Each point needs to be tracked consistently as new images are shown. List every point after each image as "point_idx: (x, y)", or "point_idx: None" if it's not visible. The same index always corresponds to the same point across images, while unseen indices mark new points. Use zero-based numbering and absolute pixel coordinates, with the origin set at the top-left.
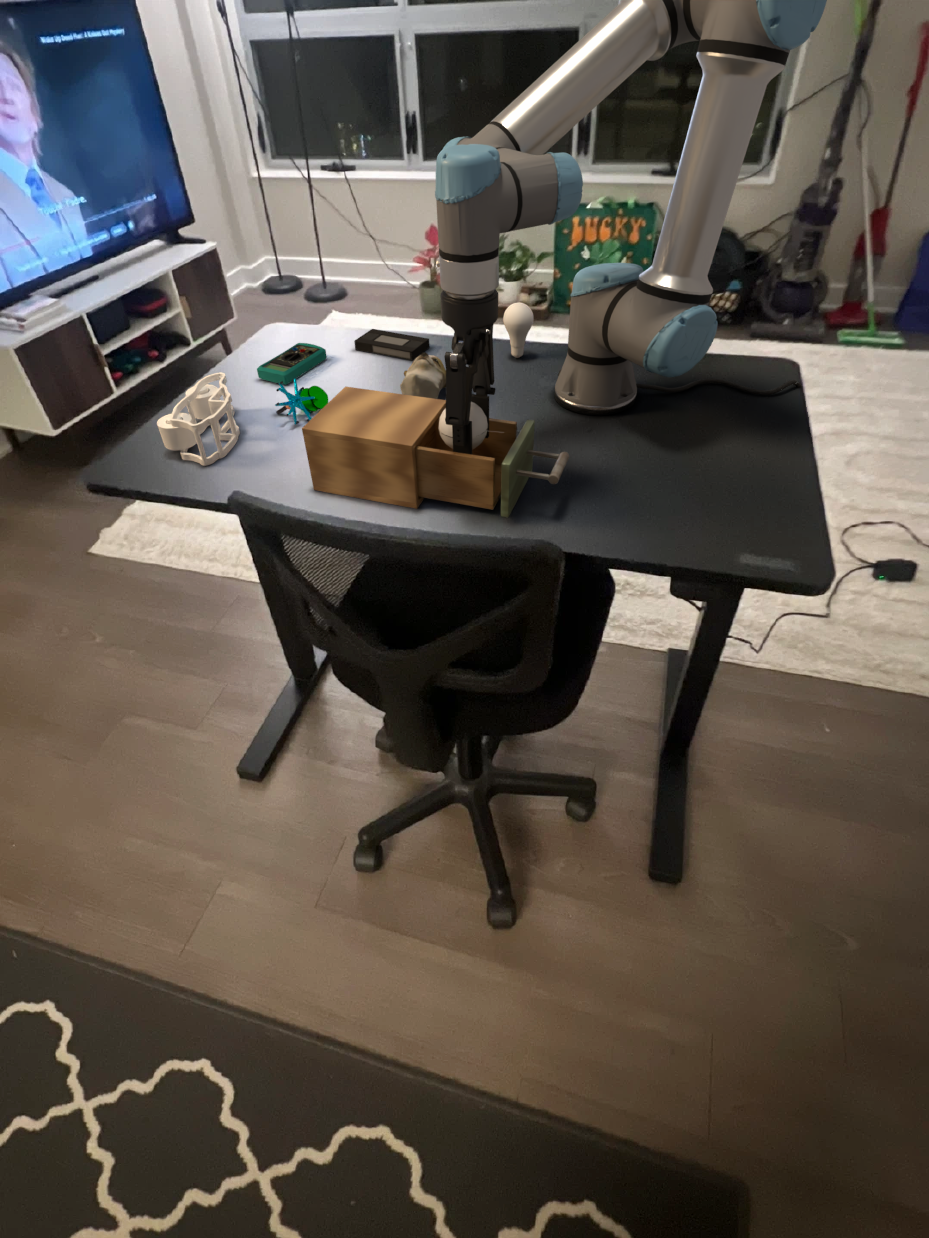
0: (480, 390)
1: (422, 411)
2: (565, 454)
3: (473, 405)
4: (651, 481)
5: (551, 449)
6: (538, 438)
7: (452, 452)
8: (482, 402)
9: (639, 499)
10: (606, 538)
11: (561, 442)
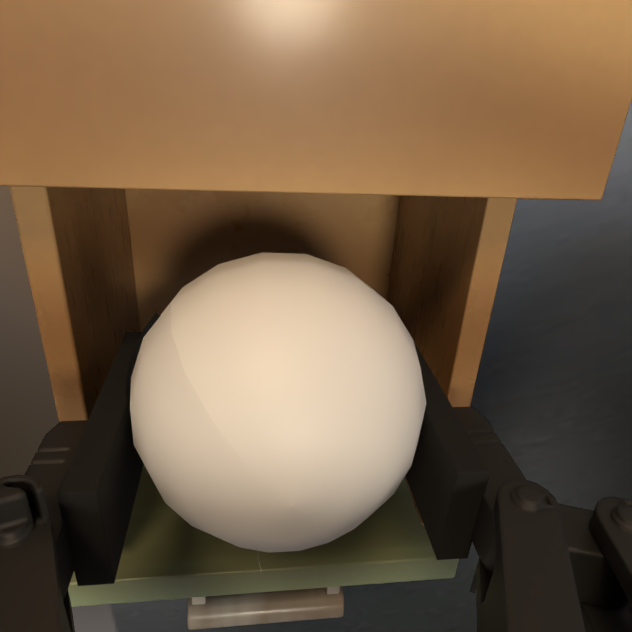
0: (492, 543)
1: (427, 75)
2: (328, 617)
3: (308, 542)
4: (416, 621)
5: (546, 421)
6: (611, 374)
7: (68, 381)
8: (431, 511)
9: (338, 619)
10: (164, 605)
11: (586, 434)
